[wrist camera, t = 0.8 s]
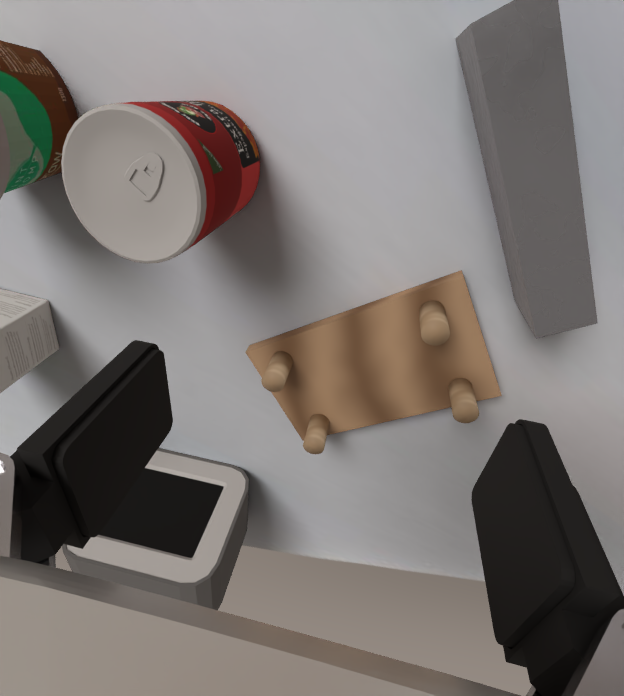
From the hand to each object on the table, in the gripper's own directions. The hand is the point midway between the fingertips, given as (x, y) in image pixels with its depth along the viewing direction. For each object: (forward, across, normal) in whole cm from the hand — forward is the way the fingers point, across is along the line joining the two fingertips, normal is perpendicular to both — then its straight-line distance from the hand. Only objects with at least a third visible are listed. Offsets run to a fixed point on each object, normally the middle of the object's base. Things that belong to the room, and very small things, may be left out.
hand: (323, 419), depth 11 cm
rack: (+22, -2, +14) cm, 26 cm away
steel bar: (+23, -9, -4) cm, 25 cm away
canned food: (+22, +12, -2) cm, 26 cm away
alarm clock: (+22, +16, +38) cm, 47 cm away
